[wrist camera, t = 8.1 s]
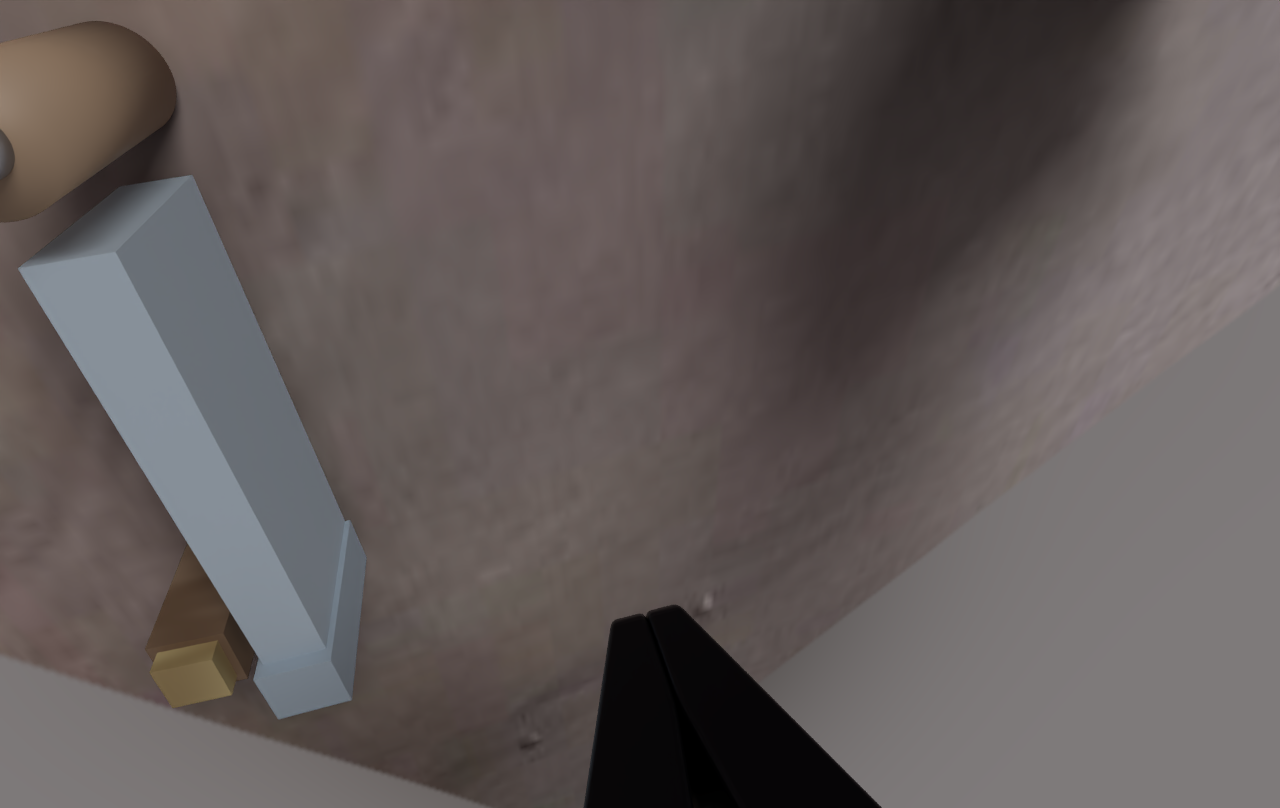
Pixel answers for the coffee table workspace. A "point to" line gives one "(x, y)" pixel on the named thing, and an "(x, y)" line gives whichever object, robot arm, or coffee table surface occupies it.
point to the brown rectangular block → (196, 640)
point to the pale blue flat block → (180, 356)
